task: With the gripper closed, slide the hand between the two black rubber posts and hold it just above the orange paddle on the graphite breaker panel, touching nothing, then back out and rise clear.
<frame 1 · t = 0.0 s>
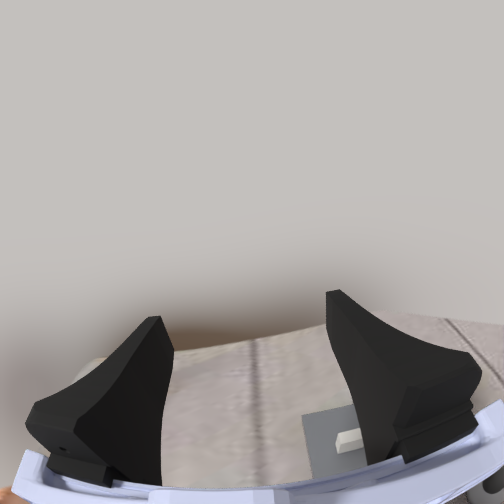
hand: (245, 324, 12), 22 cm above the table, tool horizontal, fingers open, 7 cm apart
rubber post 1: (490, 485, 12), on the table
breaker panel: (392, 442, 23), on the table
white breaker paddle 2: (351, 440, 22), point 3 cm above the table, hinge at -10.0°
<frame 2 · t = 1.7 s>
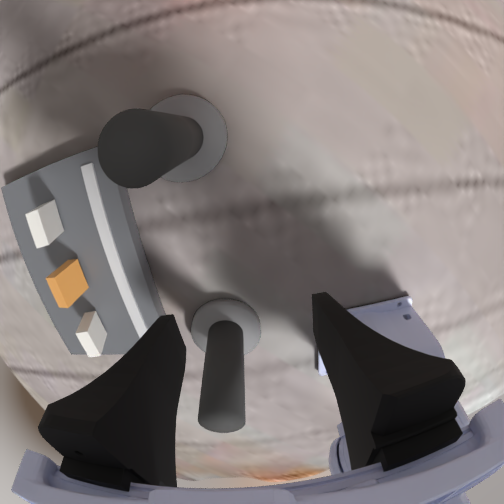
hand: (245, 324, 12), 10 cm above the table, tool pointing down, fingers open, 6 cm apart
rubber post 1: (183, 137, 19), on the table
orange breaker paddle: (67, 283, 19), point 3 cm above the table, hinge at 10.0°
breaker panel: (85, 264, 22), on the table
rubber post 2: (226, 326, 25), on the table
white breaker paddle 2: (92, 333, 21), point 3 cm above the table, hinge at -10.0°
white breaker paddle 1: (45, 223, 17), point 3 cm above the table, hinge at -10.0°
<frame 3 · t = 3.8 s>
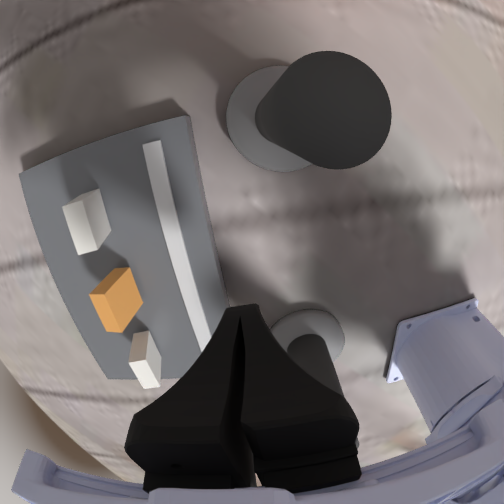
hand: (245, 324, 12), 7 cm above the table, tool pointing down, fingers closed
rubber post 1: (280, 118, 15), on the table
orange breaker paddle: (117, 299, 16), point 3 cm above the table, hinge at 10.0°
breaker panel: (133, 272, 19), on the table
rubber post 2: (304, 340, 22), on the table
white breaker paddle 2: (146, 359, 18), point 3 cm above the table, hinge at -10.0°
white breaker paddle 1: (88, 219, 14), point 3 cm above the table, hinge at -10.0°
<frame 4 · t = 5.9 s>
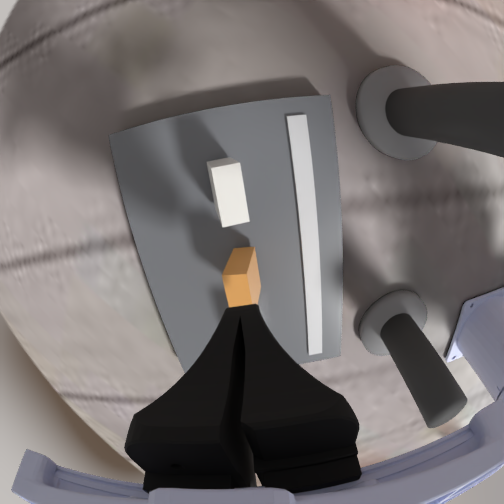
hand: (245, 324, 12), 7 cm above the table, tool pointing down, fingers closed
rubber post 1: (398, 112, 15), on the table
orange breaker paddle: (243, 281, 15), point 3 cm above the table, hinge at 10.0°
breaker panel: (242, 255, 18), on the table
rubber post 2: (391, 320, 22), on the table
white breaker paddle 1: (226, 189, 13), point 3 cm above the table, hinge at -10.0°
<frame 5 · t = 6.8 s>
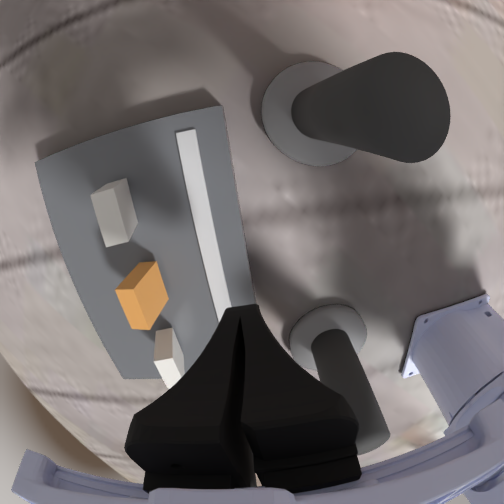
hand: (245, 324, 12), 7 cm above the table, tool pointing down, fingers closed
rubber post 1: (314, 113, 15), on the table
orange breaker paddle: (143, 294, 15), point 3 cm above the table, hinge at 10.0°
breaker panel: (157, 267, 18), on the table
rubber post 2: (327, 335, 22), on the table
white breaker paddle 2: (169, 358, 18), point 3 cm above the table, hinge at -10.0°
white breaker paddle 1: (116, 210, 13), point 3 cm above the table, hinge at -10.0°
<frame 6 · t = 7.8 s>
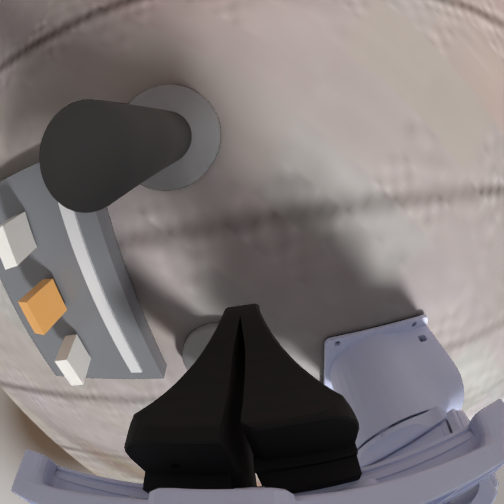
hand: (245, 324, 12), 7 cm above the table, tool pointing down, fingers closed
rubber post 1: (168, 136, 15), on the table
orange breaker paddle: (43, 306, 16), point 3 cm above the table, hinge at 10.0°
breaker panel: (63, 282, 19), on the table
rubber post 2: (222, 351, 22), on the table
white breaker paddle 2: (73, 359, 18), point 3 cm above the table, hinge at -10.0°
white breaker paddle 1: (14, 239, 14), point 3 cm above the table, hinge at -10.0°
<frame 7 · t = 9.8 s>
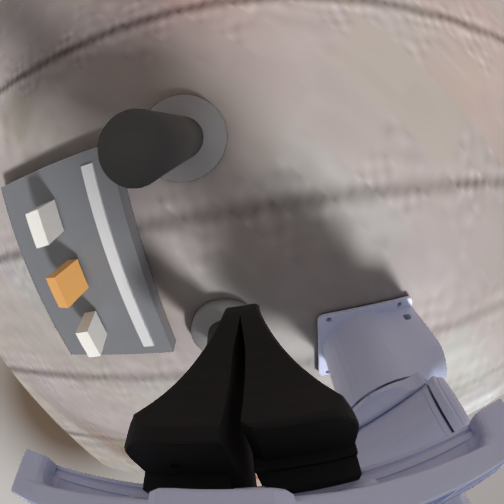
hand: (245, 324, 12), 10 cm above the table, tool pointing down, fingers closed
rubber post 1: (183, 137, 19), on the table
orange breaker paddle: (67, 283, 19), point 3 cm above the table, hinge at 10.0°
breaker panel: (85, 264, 22), on the table
rubber post 2: (226, 326, 25), on the table
white breaker paddle 2: (92, 333, 21), point 3 cm above the table, hinge at -10.0°
white breaker paddle 1: (45, 223, 17), point 3 cm above the table, hinge at -10.0°
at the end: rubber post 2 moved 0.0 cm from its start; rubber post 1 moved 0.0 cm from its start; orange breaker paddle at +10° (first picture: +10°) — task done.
